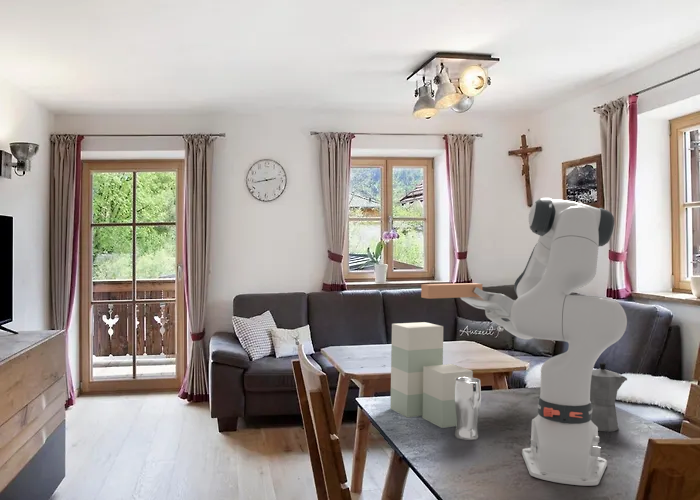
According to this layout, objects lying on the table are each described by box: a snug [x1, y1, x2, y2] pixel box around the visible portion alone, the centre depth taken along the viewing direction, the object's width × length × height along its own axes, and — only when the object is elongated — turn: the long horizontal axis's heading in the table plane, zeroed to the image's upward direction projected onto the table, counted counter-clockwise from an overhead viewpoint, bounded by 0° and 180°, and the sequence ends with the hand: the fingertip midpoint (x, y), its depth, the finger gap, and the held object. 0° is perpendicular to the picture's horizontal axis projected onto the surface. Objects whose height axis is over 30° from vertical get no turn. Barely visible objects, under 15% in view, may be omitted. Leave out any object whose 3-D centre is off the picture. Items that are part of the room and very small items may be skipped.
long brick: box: [420, 282, 483, 300], centre depth 183 cm, size 20×4×4 cm, turn 115°
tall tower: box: [389, 321, 444, 418], centre depth 178 cm, size 12×10×26 cm
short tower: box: [422, 363, 474, 429], centre depth 168 cm, size 10×10×15 cm
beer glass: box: [454, 377, 482, 441], centre depth 155 cm, size 7×7×15 cm
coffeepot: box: [590, 362, 628, 433], centre depth 166 cm, size 15×9×18 cm, turn 45°
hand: (469, 288), depth 185 cm, fingers closed on long brick, 4 cm apart
